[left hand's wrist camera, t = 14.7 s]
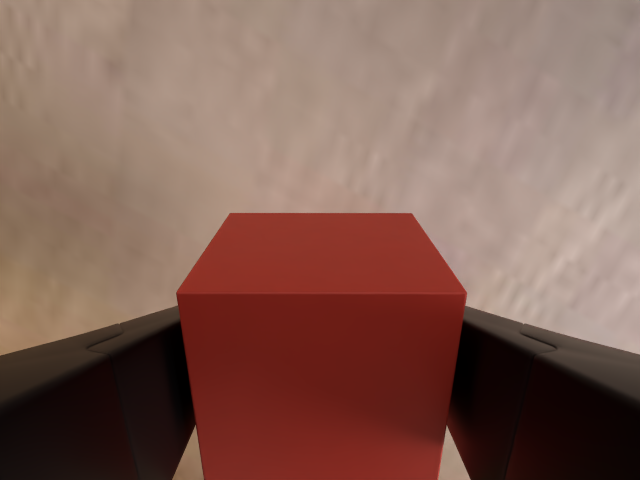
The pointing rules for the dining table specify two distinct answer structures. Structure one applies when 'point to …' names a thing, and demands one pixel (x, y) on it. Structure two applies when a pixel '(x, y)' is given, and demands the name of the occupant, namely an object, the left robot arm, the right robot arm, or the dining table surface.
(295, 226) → the red cube
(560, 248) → the dining table surface
